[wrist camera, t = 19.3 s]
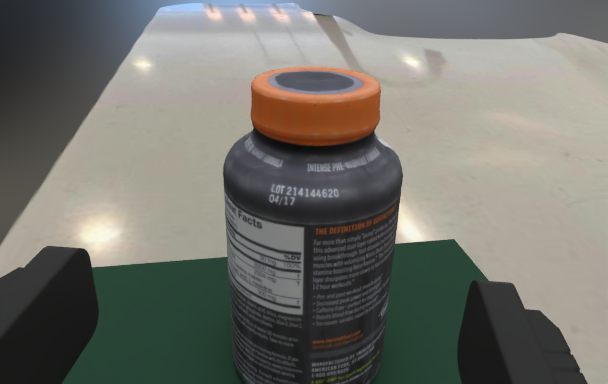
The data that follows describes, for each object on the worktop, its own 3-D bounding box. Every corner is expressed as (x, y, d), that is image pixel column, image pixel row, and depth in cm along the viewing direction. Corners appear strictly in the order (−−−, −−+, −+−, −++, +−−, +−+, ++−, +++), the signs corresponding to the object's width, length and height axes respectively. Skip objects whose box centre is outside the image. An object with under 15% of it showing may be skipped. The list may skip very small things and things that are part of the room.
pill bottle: (363, 304, 24) (388, 56, 19) (398, 410, 19) (446, 105, 14) (232, 311, 23) (221, 54, 18) (230, 422, 18) (215, 106, 13)
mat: (-18, 587, 14) (-24, 575, 14) (81, 278, 26) (79, 268, 26) (634, 472, 17) (640, 461, 17) (452, 247, 30) (454, 238, 29)
